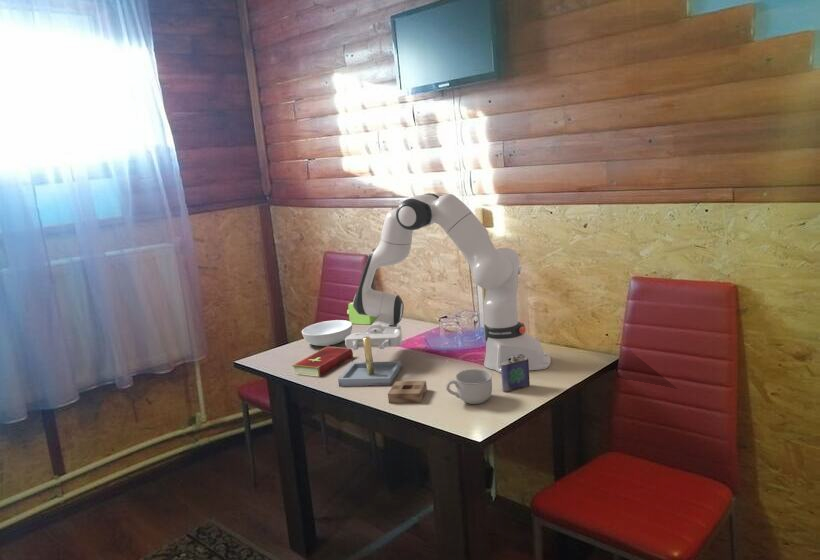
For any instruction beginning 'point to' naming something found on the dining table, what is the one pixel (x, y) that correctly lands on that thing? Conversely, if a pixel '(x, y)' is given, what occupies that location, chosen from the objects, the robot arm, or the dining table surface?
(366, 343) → the pin
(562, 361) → the dining table surface
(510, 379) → the flask
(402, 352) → the dining table surface
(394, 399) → the pin block
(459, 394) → the teacup
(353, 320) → the gearbox
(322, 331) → the serving bowl
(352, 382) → the tray
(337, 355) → the hardcover book
